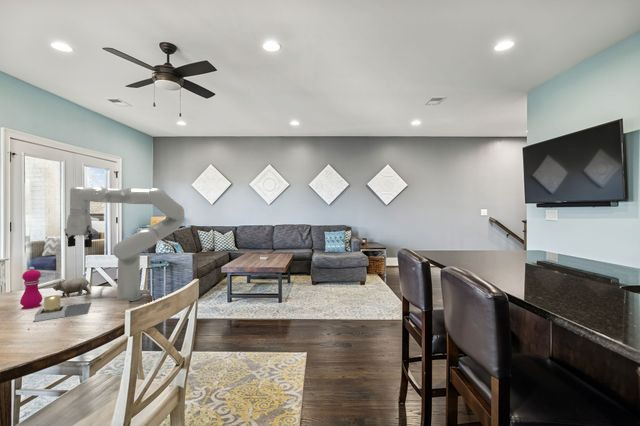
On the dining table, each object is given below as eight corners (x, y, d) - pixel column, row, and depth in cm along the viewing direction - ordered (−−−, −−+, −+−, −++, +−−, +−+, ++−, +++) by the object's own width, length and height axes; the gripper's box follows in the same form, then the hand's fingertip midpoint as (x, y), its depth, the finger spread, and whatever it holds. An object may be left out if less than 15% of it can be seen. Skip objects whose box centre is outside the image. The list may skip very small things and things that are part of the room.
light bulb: (61, 312, 123) (61, 294, 123) (59, 316, 119) (59, 297, 118) (45, 315, 120) (45, 296, 120) (42, 318, 116) (42, 299, 116)
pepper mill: (27, 313, 125) (28, 268, 125) (15, 312, 127) (15, 267, 127) (46, 307, 133) (46, 265, 132) (34, 306, 134) (35, 264, 134)
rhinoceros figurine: (92, 291, 151) (72, 269, 148) (65, 309, 146) (44, 287, 143) (97, 289, 158) (78, 268, 155) (71, 306, 153) (51, 285, 150)
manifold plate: (91, 305, 137) (91, 297, 137) (87, 317, 122) (87, 308, 122) (42, 312, 127) (43, 303, 127) (32, 326, 112) (32, 316, 112)
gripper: (57, 211, 136) (57, 247, 136) (87, 212, 133) (87, 248, 133) (73, 211, 143) (73, 245, 144) (102, 212, 141) (101, 246, 141)
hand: (79, 246), depth 138 cm, fingers open, 9 cm apart
